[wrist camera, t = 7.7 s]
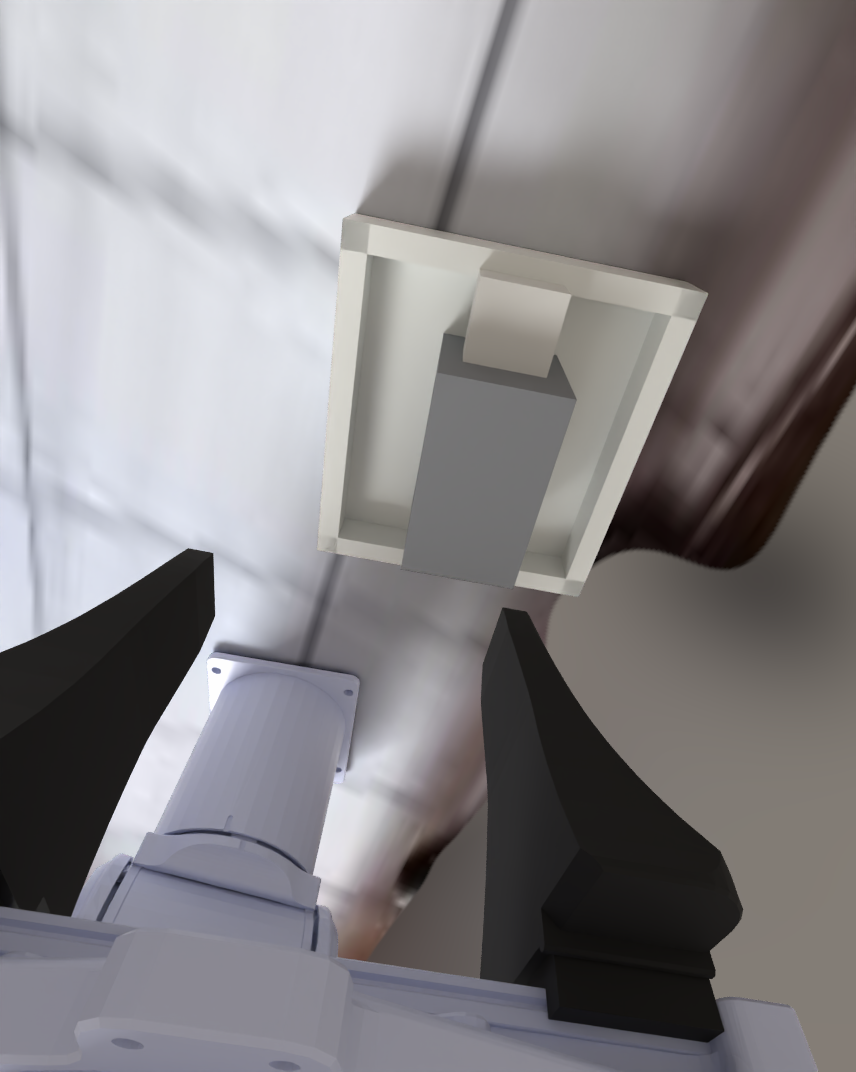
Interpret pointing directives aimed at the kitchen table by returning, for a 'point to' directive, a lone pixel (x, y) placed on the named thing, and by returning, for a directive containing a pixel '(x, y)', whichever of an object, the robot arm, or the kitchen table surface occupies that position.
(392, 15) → the kitchen table surface
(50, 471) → the kitchen table surface
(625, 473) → the tray
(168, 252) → the kitchen table surface
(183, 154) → the kitchen table surface
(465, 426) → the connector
